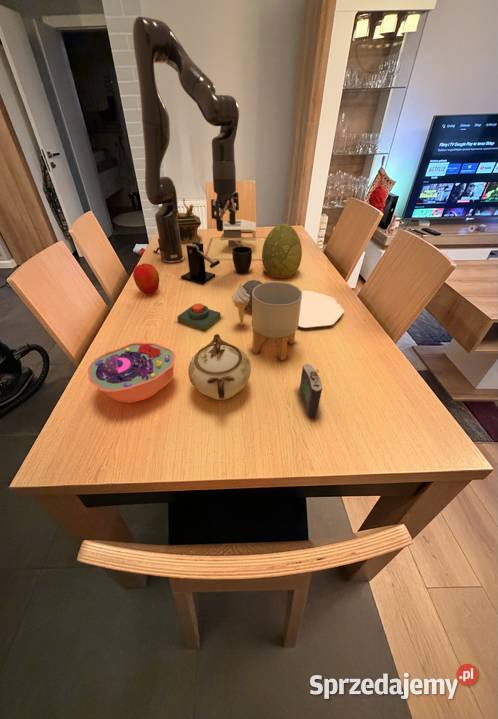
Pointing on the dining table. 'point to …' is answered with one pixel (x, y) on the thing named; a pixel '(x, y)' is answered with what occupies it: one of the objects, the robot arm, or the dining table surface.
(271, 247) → the decorative sculpture
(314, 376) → the flask
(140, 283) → the red mango
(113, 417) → the dining table surface
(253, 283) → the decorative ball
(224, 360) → the sugar bowl
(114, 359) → the cell model
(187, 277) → the bracket
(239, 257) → the mug
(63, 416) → the dining table surface
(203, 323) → the button housing
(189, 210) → the decorative box
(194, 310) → the button
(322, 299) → the plate
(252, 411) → the dining table surface
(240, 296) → the ice cream cone
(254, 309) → the planter
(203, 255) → the lever
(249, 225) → the house model
